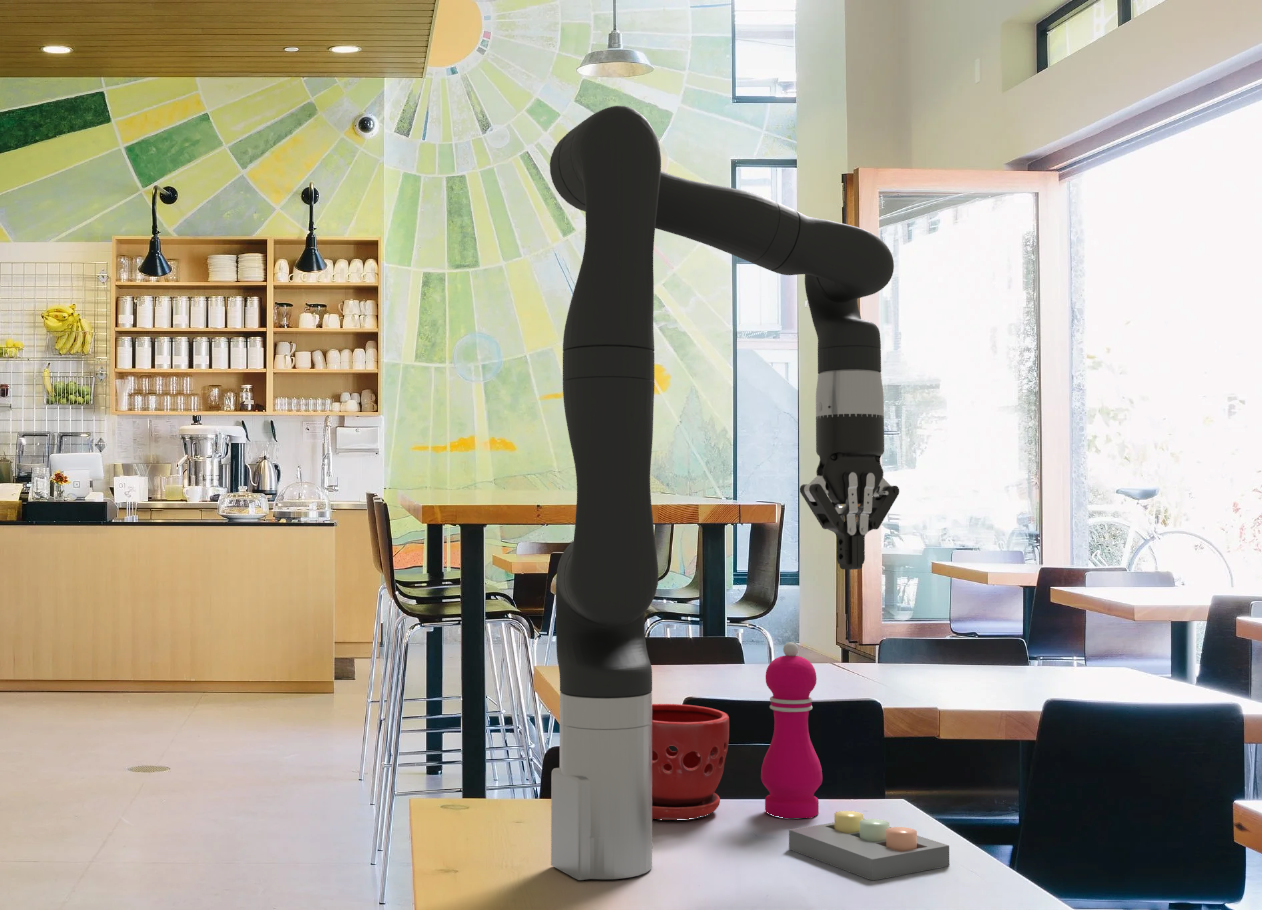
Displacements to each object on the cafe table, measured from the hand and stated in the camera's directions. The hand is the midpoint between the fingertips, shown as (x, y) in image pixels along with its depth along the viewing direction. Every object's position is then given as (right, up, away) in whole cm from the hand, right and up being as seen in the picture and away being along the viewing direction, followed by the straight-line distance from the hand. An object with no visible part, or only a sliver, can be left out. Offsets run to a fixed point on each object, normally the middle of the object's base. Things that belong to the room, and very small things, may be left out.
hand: (851, 569), depth 135 cm
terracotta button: (+3, -28, -14) cm, 31 cm away
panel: (0, -28, -11) cm, 30 cm away
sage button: (+1, -28, -11) cm, 30 cm away
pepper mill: (-6, -30, +8) cm, 31 cm away
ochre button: (-1, -28, -7) cm, 29 cm away
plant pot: (-19, -30, +8) cm, 36 cm away
